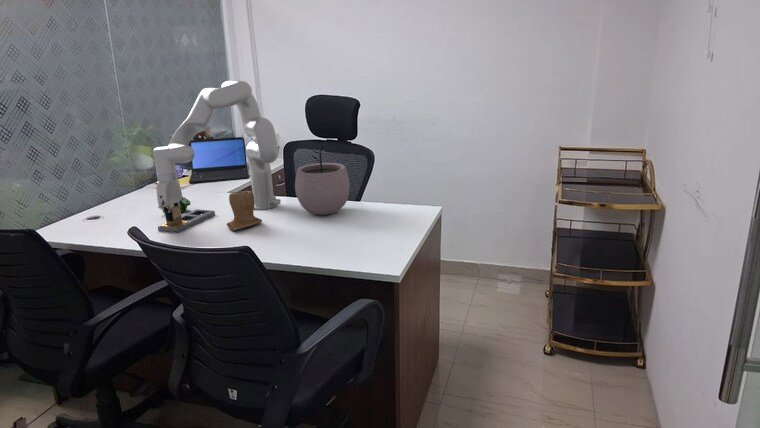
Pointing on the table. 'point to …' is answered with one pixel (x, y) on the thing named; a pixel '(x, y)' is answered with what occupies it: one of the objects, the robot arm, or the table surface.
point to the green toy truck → (183, 205)
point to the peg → (175, 216)
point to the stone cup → (242, 210)
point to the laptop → (218, 160)
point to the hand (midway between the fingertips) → (173, 218)
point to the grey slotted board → (190, 216)
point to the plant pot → (322, 187)
